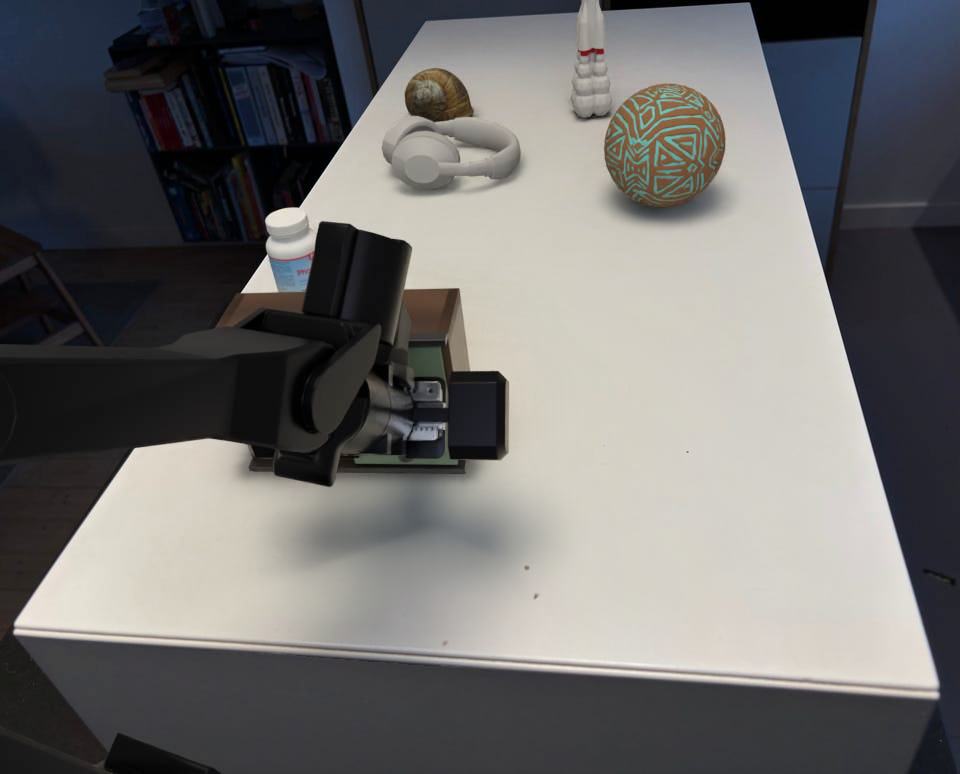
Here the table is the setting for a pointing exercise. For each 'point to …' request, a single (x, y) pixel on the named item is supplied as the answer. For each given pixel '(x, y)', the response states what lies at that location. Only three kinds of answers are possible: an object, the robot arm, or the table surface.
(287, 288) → the pill bottle
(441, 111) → the seashell
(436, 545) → the table surface
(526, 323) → the table surface
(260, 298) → the cupboard
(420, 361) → the sliding door
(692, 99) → the decorative sphere
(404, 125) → the headphones
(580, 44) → the rocket model
